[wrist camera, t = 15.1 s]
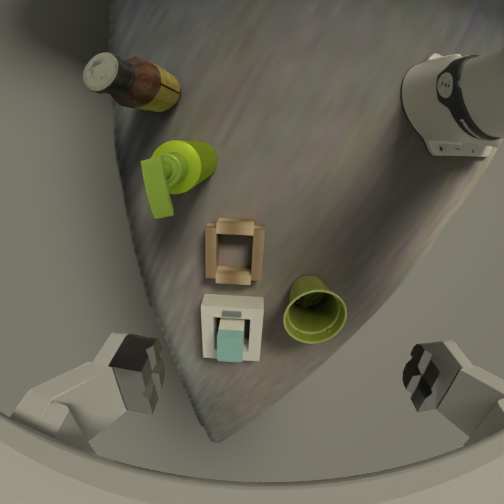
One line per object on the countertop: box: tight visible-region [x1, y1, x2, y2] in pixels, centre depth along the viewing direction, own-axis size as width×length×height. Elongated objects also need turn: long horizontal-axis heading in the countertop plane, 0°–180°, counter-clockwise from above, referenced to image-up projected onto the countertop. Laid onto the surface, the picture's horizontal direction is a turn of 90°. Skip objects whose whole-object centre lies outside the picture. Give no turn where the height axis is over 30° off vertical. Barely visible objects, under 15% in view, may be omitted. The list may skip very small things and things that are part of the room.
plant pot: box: [283, 275, 347, 344], centre depth 45 cm, size 9×9×9 cm
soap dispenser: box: [141, 141, 217, 219], centre depth 33 cm, size 6×7×20 cm
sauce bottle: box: [83, 52, 181, 112], centre depth 29 cm, size 6×6×20 cm
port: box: [201, 294, 264, 361], centre depth 49 cm, size 10×11×4 cm
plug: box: [217, 318, 245, 362], centre depth 48 cm, size 4×5×8 cm
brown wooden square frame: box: [205, 218, 265, 285], centre depth 45 cm, size 9×10×3 cm
